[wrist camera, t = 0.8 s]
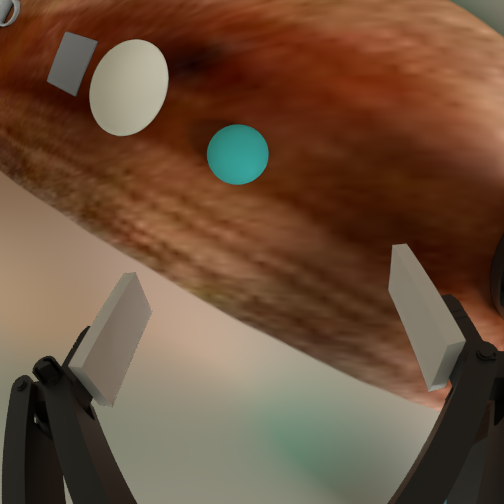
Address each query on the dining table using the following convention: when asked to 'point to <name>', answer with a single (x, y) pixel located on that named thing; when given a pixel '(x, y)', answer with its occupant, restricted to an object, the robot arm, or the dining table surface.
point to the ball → (237, 154)
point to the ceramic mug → (0, 7)
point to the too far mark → (71, 62)
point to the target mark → (129, 87)
